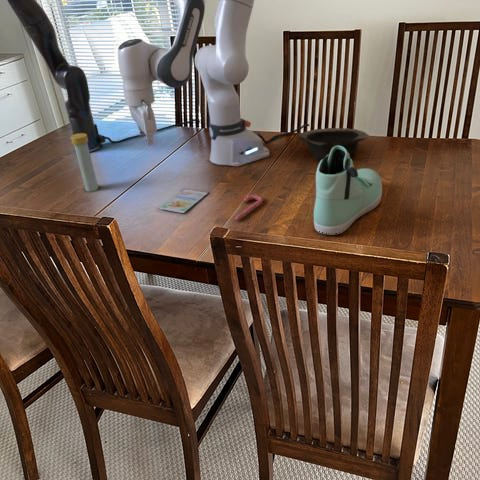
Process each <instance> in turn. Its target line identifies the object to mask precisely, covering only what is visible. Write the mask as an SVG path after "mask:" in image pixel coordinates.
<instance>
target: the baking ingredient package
mask: <svg viewBox="0 0 480 480" xmlns="http://www.w3.org/2000/svg"><path fill="white" fill-rule="evenodd" d="M207 194H208V192H206V191H199V190H194V189H188V188H184V189H183V190H182V191H180V192H179V193H177V194H176V195H175V196H174V197H173V198H171V199H169V200H168V201H167V202H165V203H164V204H163V205H161V206H160V207H159V208H158V209H160V210H166V211H169V212H175V213H180V214H184V213H186V212H187V211H188V210H190V208H192V207H193V206H194V205H195V204H196V203H198V202H199V201H200V200H202V198H204V197H205V196H206V195H207Z"/></svg>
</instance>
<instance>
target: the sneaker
mask: <svg viewBox="0 0 480 480" xmlns="http://www.w3.org/2000/svg"><path fill="white" fill-rule="evenodd" d="M317 165H318V166H317V168H316V172H315V201H314V207H313V225H314V229H315V231H316V232H318V233H320V234H323V235H326V236H327V235H328V236H336V235H339V234H342V233H344V232H345V231H347V230H348V229H349V228H350V227H351V226H352V225H353V224H354V222H356V221H357V220H358V219H359V218H360V217H362V216H363V215H365V214H367V213H370V212H372V210H374V209H375V208H377V207H378V205H380V203H381V200H382V196H383V184H382V183H383V182H382V179H381V176H380V175H379V173H378V172H377V171H376V170H374V169H372V168H367V167H365V168H358V169H357V168H355V167H354V161H353V159H352V158H351V156H349V153H348V152H347V150H346V149H345V148H344V147H342V146H334V147H333V148H332V149H331V152H330V154H329V155H327V156H326V157H325V158H324V159H322V160H321V161H319V163H318V164H317ZM343 230H344V231H343ZM319 231H320V232H319ZM322 232H323V233H322ZM339 232H340V233H339ZM326 233H327V234H326ZM328 233H329V234H328ZM335 233H337V234H335Z"/></svg>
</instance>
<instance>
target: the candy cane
mask: <svg viewBox="0 0 480 480" xmlns="http://www.w3.org/2000/svg"><path fill="white" fill-rule="evenodd" d="M252 200H255V201H256V202H253V204H251V205H250V206H248V207H247V208H245V209H244V210H243V211H242V212H239V214H237V215H236V216H235V219H234V220H235V221H238V222H239V221H240V220H242V219H243V218H244V217H245V216H247V215H248V214H249V213H251V212H252V211H254V210H255V209H256V208H258V207H259V206H260V205H262V204H263V202H264V199H263V197H262V196H260V195H257V194H251V195H247V196H245V197H243V203H245V204H246V203H248V202H249V201H252Z"/></svg>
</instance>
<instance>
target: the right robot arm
mask: <svg viewBox="0 0 480 480" xmlns="http://www.w3.org/2000/svg"><path fill="white" fill-rule="evenodd" d="M172 1H173V4H174V5H175V7H177V9H178V12H179V22H178V26H177V30H176V33H175V36H174V39H173V43H172V46H171V47H170V48H169V49H168V48H165V47H161V46H157V45H153V44H150V43H148V42H146V41H144V40H143V39H142V38H133V39H128V40H125V41H123V42H122V43H121V44H120V45H118V48H117V61H118V68H119V74H120V77H121V79H122V91H123V97H124V103H125V105H126V106H128V109H129V113H130V116H131V119H132V120H133V121H134V122H135V124H136V125H137V129H138V131H139V135H140V136H141V138H144V137H146V139H145V141H146V145H148V146H149V147H150V146H153V145H154V135H156V134H157V133H158V132H157V129H158V128H157V122H156V117H155V112H154V110H153V108H152V104H153V103H155V93H154V87H153V82H156V81H157V82H160V83H162V84H164V85H165V86H167V87H169V88H172V89H178V88H182V87H183V86H185V85H187V84H188V82H189V81H190V79H191V77H192V73H193V67H195V68H196V70H197V72H198V74H199V77H200V79H201V82H202V85H203V89H204V93H205V95H206V96H205V97H206V100H207V106H208V115H209V122H208V130H209V136H210V154H209V161H210V162H211V163H212V164H215V165H218V166H232V167H241V166H243V165H247V164H249V163H253V162H256V161H259V160H261V159H264V158H267V157H270V156H271V153H270V150H269V148H267V147H266V146H264V144H268V143H270V142H272V141H273V140H274V139H277V138H279V137H280V138H281V137H285V136H289V135H291V134H292V135H293V134H294V133H297V132H298V131H300V130H303V129H304V128H305V127H306V126H307V127H310V124H309V123H307V122H306V123H304V124H302V125H301V126H300V127H298V128H296V129H294V130H292V131H289V132H286V133H285V132H284V133H281V134H276V135H274V136H272V137H271V138H270V139H269V140H266V139H265V138H264V136H262V135H261V133H260V132H254V131H252V130H250V129H248V128H250V127H251V121H249V120H246V119H244V118H242V117H241V105H240V103H241V102H240V97H239V94H238V93H237V91H236V89H235V85H240V84H242V83H243V82H244V81H245V80H246V78H247V76H248V74H249V69H250V66H249V62H248V59H247V56H246V54H247V53H246V43H247V41H246V40H247V32H248V28H249V24H250V21H251V16H252V11H253V8H254V3H255V0H218V3H217V8H216V12H215V16H214V21H213V27H214V30H215V44H211V45H205V46H202V47H200V48H199V49H198V50H197V52H196V53H195V56H194V52H195V51H196V50H195V49H196V47H197V42H198V40H199V36H200V32H201V28H202V25H203V21H204V16H205V11H206V8H205V7H206V2H207V0H172ZM193 61H194V62H193ZM193 63H194V65H193ZM263 143H264V144H263Z"/></svg>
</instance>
